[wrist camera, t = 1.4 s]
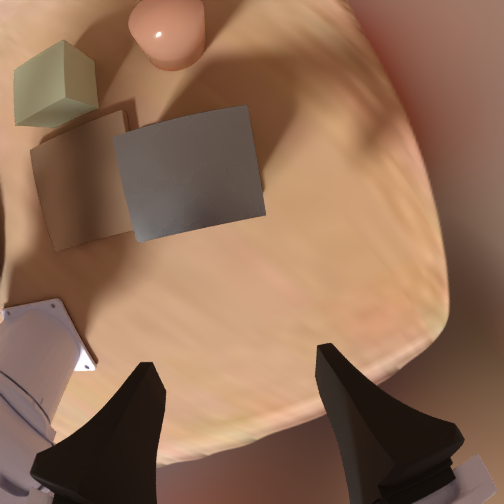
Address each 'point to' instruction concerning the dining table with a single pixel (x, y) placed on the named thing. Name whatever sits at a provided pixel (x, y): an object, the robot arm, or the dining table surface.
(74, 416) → the dining table surface
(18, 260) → the dining table surface
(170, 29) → the terracotta cylinder
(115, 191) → the pad
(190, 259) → the dining table surface
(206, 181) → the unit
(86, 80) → the sage block
